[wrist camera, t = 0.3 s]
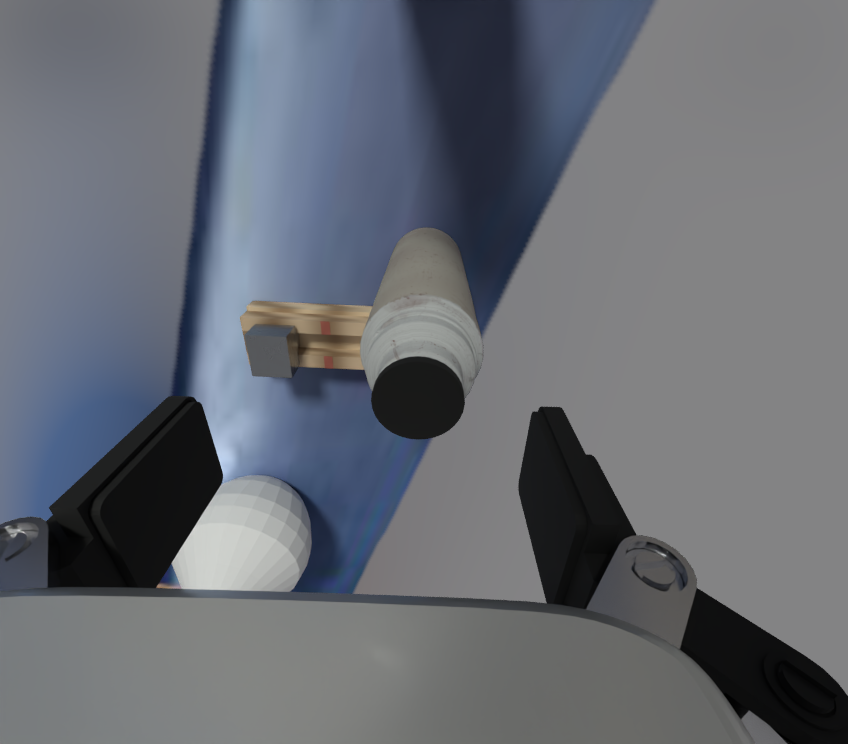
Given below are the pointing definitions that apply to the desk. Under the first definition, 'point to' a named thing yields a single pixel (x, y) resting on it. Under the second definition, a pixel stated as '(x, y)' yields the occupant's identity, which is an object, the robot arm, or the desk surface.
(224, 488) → the vase
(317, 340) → the rail
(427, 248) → the thermos bottle
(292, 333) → the block
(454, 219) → the desk surface
